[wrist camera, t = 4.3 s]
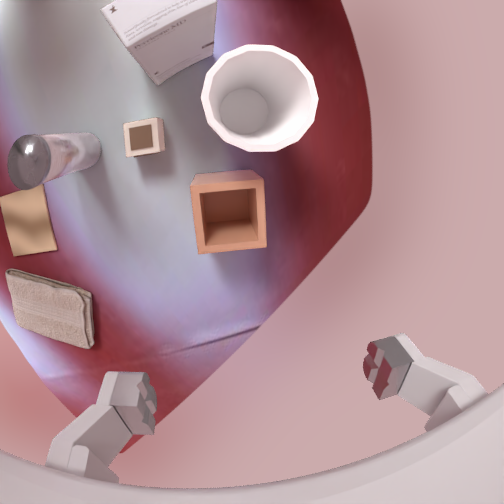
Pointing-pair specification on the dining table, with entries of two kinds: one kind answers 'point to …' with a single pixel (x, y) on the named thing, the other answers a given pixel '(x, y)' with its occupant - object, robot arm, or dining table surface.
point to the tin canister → (50, 157)
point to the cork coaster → (28, 221)
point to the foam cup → (259, 98)
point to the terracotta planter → (228, 211)
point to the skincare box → (164, 32)
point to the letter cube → (144, 137)
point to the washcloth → (52, 308)
